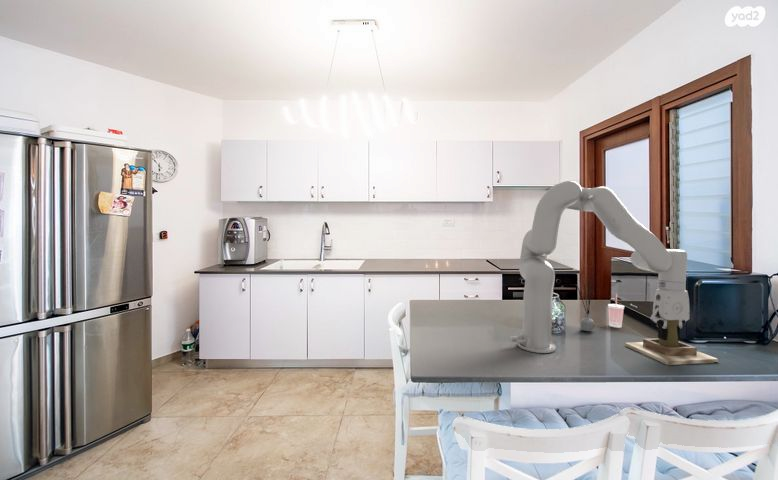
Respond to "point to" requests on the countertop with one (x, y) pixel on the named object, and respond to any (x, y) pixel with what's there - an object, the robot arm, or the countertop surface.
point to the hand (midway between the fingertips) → (668, 338)
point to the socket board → (671, 352)
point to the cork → (671, 334)
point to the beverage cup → (615, 314)
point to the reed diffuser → (587, 315)
